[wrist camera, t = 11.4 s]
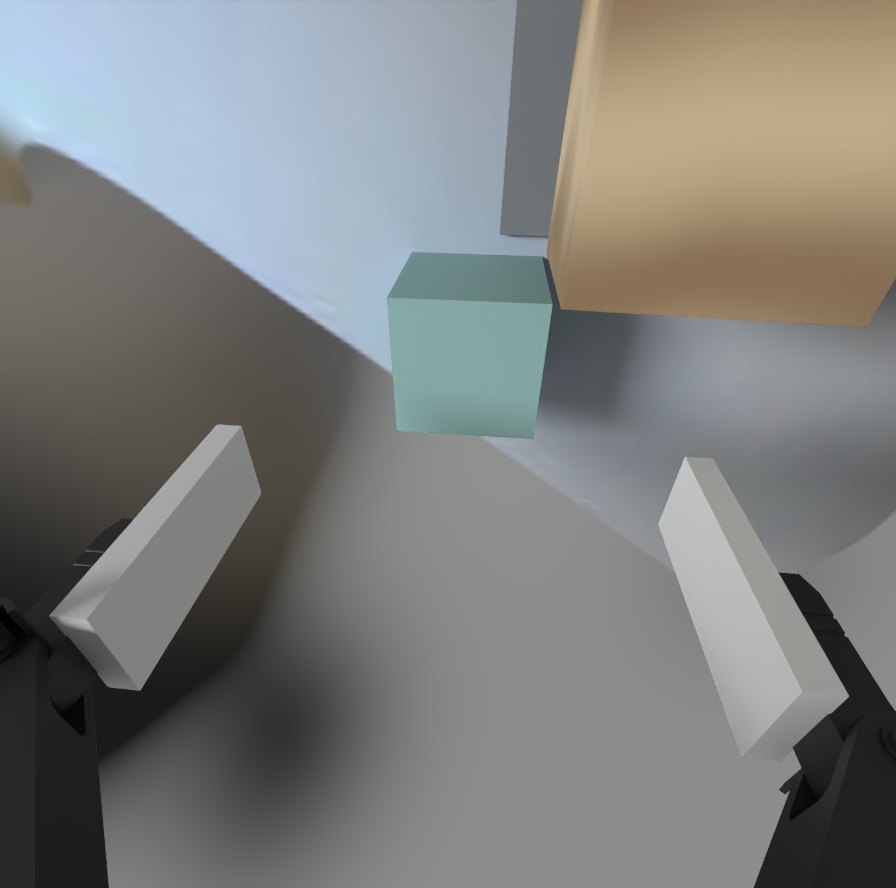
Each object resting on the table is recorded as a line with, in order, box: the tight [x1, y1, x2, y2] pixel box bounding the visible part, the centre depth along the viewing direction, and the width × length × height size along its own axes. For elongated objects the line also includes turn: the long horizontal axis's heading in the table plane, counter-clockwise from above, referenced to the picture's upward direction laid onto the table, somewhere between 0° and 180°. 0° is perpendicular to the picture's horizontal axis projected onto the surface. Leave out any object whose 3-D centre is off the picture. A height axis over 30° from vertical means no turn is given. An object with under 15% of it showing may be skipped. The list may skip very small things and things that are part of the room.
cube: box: [387, 252, 553, 439], centre depth 21 cm, size 6×6×6 cm
